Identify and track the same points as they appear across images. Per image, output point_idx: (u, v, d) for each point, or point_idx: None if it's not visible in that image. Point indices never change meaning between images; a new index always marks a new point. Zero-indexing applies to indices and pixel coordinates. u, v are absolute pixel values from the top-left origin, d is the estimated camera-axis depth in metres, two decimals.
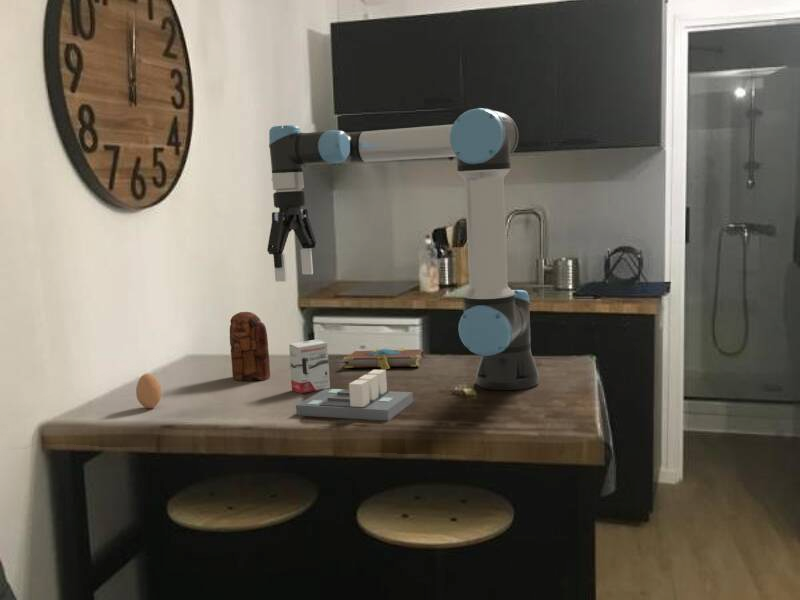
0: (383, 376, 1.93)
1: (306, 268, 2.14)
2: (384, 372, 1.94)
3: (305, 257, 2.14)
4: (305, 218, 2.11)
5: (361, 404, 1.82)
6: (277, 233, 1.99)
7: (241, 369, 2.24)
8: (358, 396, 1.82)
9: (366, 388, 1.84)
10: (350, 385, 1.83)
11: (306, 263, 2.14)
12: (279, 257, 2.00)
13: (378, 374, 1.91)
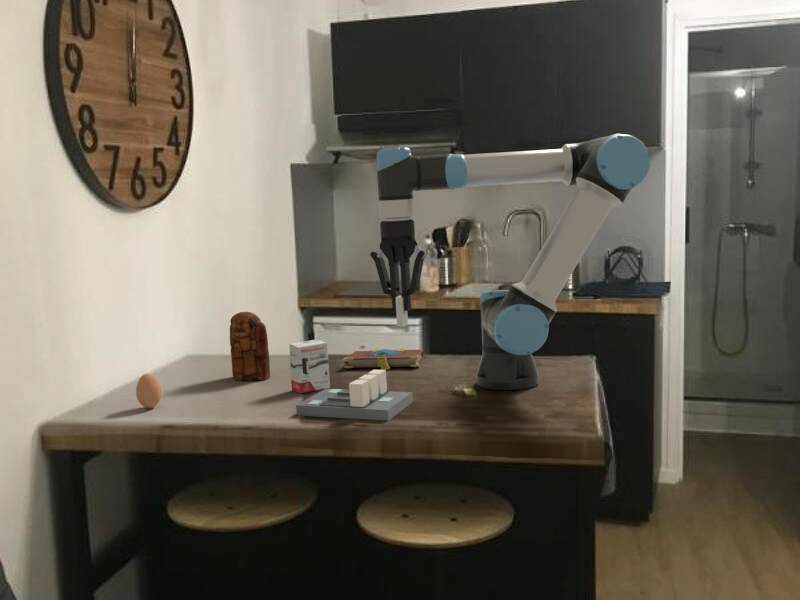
0: (383, 376, 1.93)
1: None
2: (384, 372, 1.94)
3: None
4: (416, 258, 1.84)
5: (361, 404, 1.82)
6: None
7: (241, 369, 2.24)
8: (358, 396, 1.82)
9: (366, 388, 1.84)
10: (350, 385, 1.83)
11: None
12: (393, 299, 1.88)
13: (378, 374, 1.91)
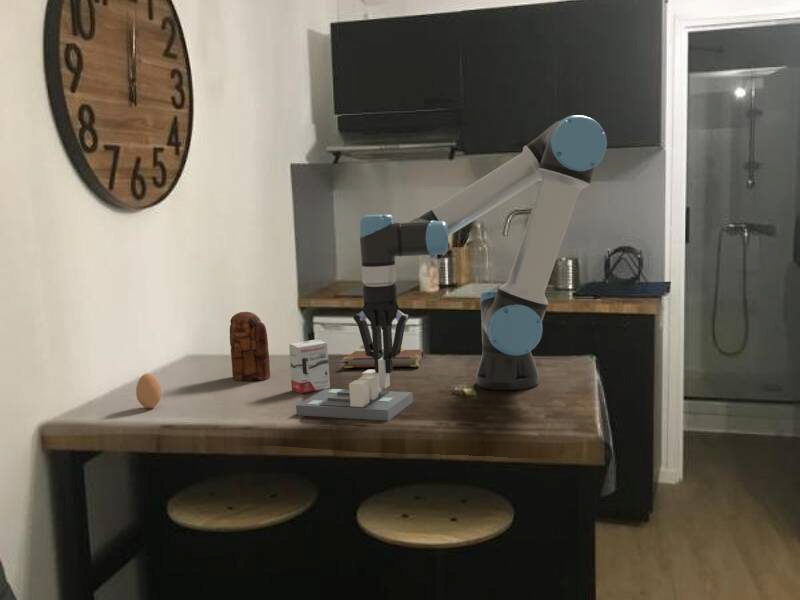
0: (377, 376, 1.93)
1: None
2: None
3: None
4: None
5: (361, 404, 1.82)
6: None
7: (241, 369, 2.24)
8: (358, 396, 1.82)
9: (366, 388, 1.84)
10: (350, 385, 1.83)
11: None
12: (376, 362, 1.92)
13: (372, 374, 1.92)
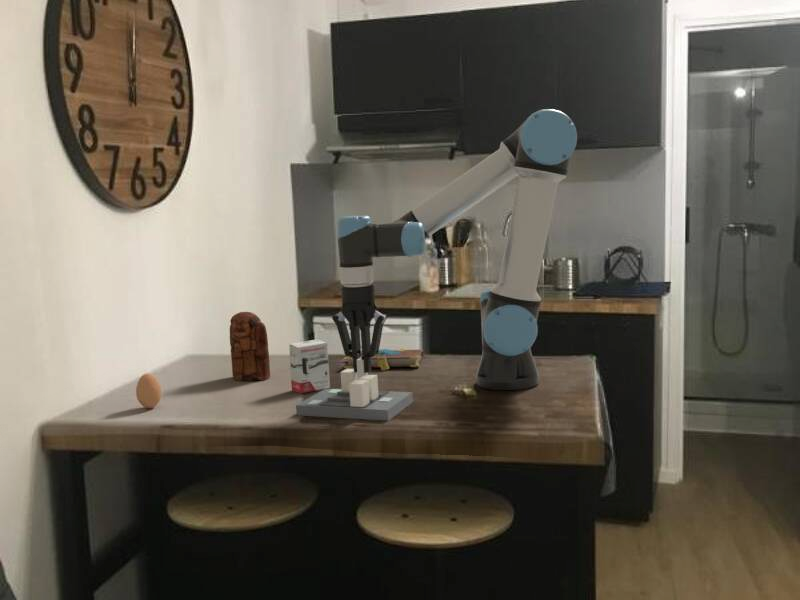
0: (356, 375, 1.95)
1: None
2: None
3: None
4: None
5: (361, 404, 1.82)
6: None
7: (241, 369, 2.24)
8: (358, 396, 1.82)
9: (366, 388, 1.84)
10: (350, 385, 1.83)
11: None
12: (354, 361, 1.94)
13: (351, 373, 1.94)
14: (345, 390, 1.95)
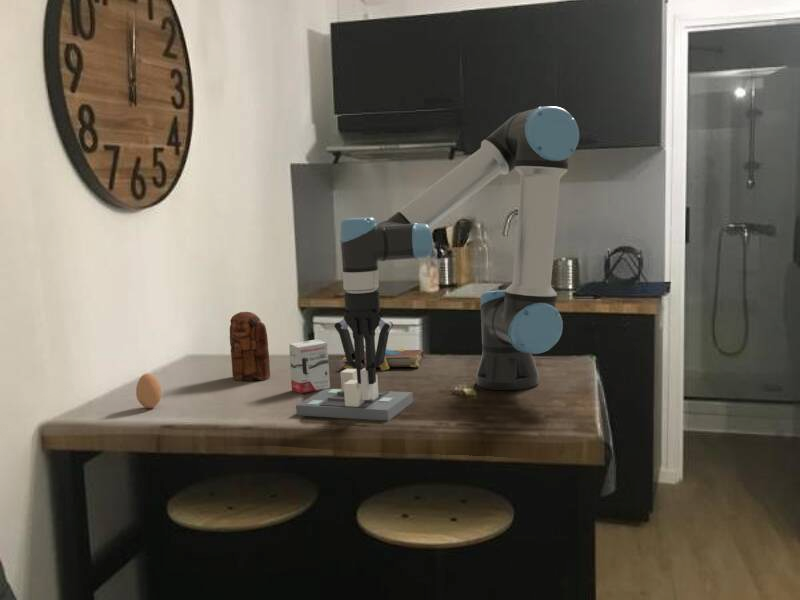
0: (356, 375, 1.95)
1: None
2: None
3: None
4: (380, 331, 1.79)
5: (356, 404, 1.83)
6: None
7: (241, 369, 2.24)
8: (353, 395, 1.83)
9: None
10: (345, 385, 1.83)
11: None
12: (358, 372, 1.83)
13: (351, 373, 1.94)
14: None
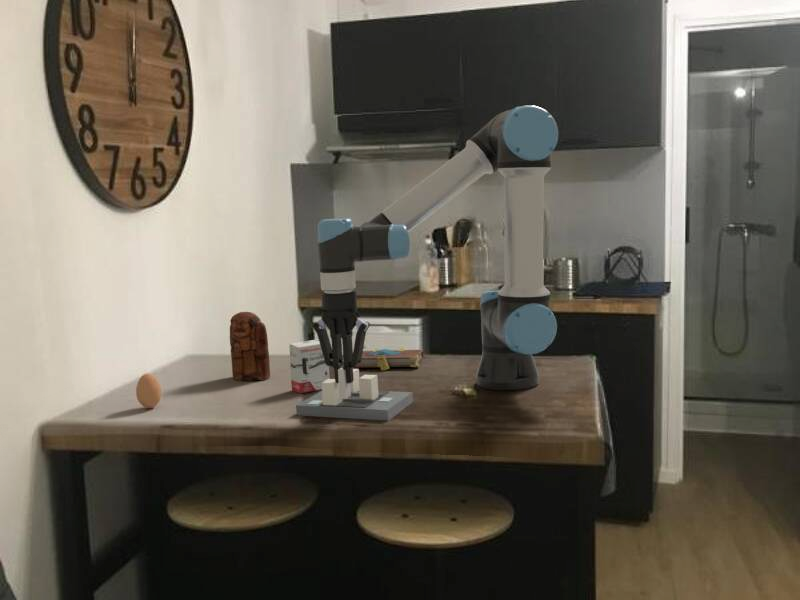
0: (356, 375, 1.95)
1: None
2: (357, 371, 1.96)
3: None
4: None
5: (333, 403, 1.85)
6: None
7: (241, 369, 2.24)
8: (331, 394, 1.85)
9: None
10: (322, 384, 1.85)
11: None
12: (336, 371, 1.85)
13: None
14: None
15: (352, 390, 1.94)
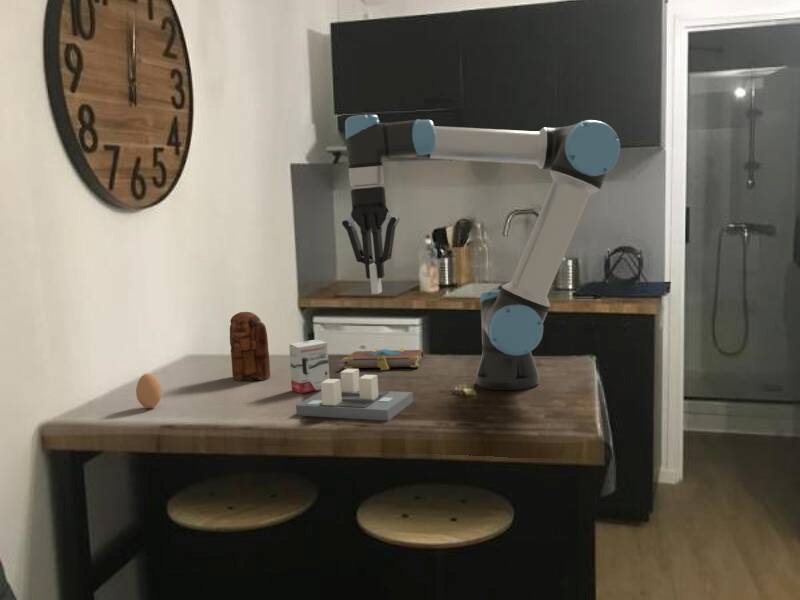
0: (356, 375, 1.95)
1: None
2: (357, 371, 1.96)
3: None
4: (388, 225, 1.85)
5: (333, 403, 1.85)
6: None
7: (241, 369, 2.24)
8: (330, 394, 1.85)
9: (338, 386, 1.87)
10: (322, 384, 1.85)
11: None
12: (367, 267, 1.89)
13: (351, 373, 1.94)
14: (345, 390, 1.95)
15: (352, 390, 1.94)
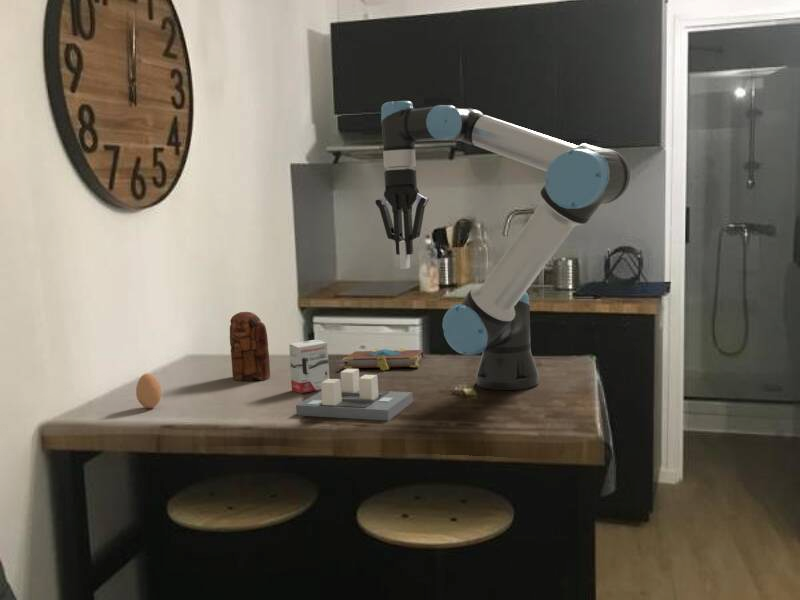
0: (356, 375, 1.95)
1: None
2: (357, 371, 1.96)
3: None
4: (417, 205, 1.98)
5: (333, 403, 1.85)
6: None
7: (241, 369, 2.24)
8: (330, 394, 1.85)
9: (338, 386, 1.87)
10: (322, 384, 1.85)
11: None
12: (396, 244, 2.02)
13: (351, 373, 1.94)
14: (345, 390, 1.95)
15: (352, 390, 1.94)
